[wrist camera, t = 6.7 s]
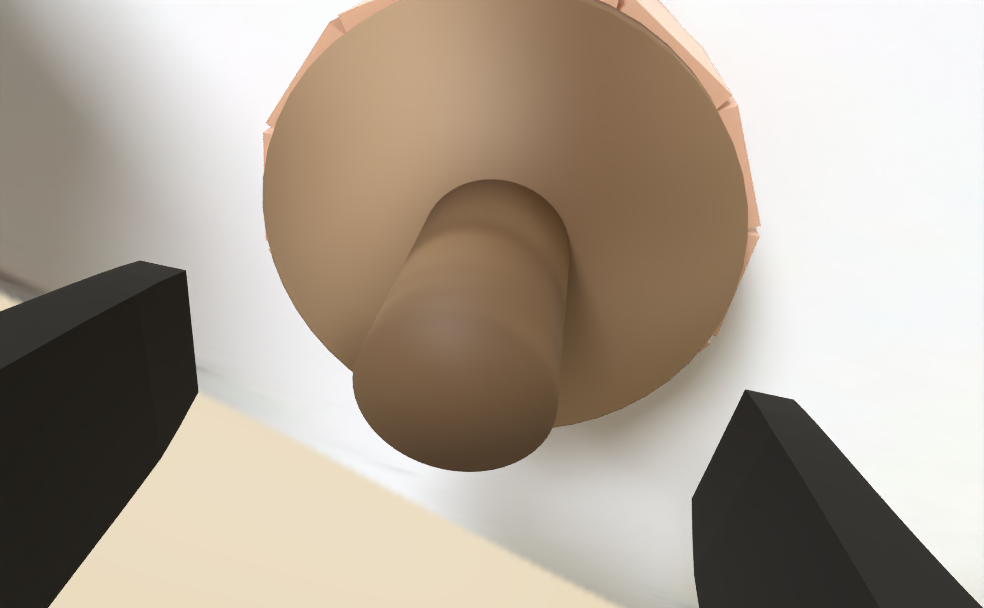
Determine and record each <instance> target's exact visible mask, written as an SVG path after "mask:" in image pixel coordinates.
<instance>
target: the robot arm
mask: <svg viewBox="0 0 984 608" xmlns="http://www.w3.org/2000/svg"><path fill="white" fill-rule="evenodd" d="M197 394H198V384H197V374H196V364H195V354H194V345H193V335H192V325H191V315H190V306H189V296H188V286H187V276H186V270H181V269H177V268H172V267H167V266H163V265H158V264H153V263H148V262H144V261H137V262H134V263H130V264H127V265H124V266H120V267H117V268H114V269H111V270H109V271H106V272H103V273H100V274H97V275H95V276H92V277H89V278H87V279H84V280H81V281H78V282H76V283H73V284H71V285H68V286H65V287H63V288H60V289H58V290H55V291H52V292H50V293H47V294H45V295H42V296H39V297H37V298H34V299H32V300H29V301H26V302H24V303H21V304H19V305H16V306H13V307H11V308H8V309H6V310H3V311H0V608H48V607H49V606H50V604H51V603H52V602H53V601H54V599H55V598H56V597H57V595H58V594H59V592H60V591H61V590H62V589H63V587H64V586H65V584H66V583H67V582H68V581H69V580H70V578H71V577H72V575H73V574H74V573H75V572H76V570H77V569H78V567H79V566H80V565H81V564H82V562H83V561H84V560H85V559H86V557H87V556H88V555H89V553H90V552H91V551H92V549H93V548H94V547H95V545H96V544H97V543H98V541H99V540H100V539H101V538H102V536H103V535H104V534H105V532H106V531H107V530H108V528H109V527H110V526H111V524H112V523H113V522H114V520H115V519H116V518H117V517H118V515H119V514H120V513H121V511H122V510H123V509H124V507H125V506H126V505H127V503H128V502H129V501H130V499H131V498H132V497H133V495H134V494H135V493H136V491H137V489H139V487H140V486H141V485H142V483H143V482H144V480H145V479H146V478H147V476H148V475H149V474H150V472H151V471H152V469H153V468H154V467H155V466H156V464H157V463H158V462H159V460H160V459H161V457H162V456H163V454H164V452H165V451H166V449H167V447H168V446H169V444H170V442H171V440H172V439H173V437H174V435H175V434H176V432H177V430H178V428H179V427H180V425H181V423H182V421H183V419H184V418H185V416H186V414H187V412H188V410H189V408H190V406H191V405H192V403H193V401H194V399H195V397H196V395H197ZM692 536H693V560H694V576H695V583H696V590H697V597H698V603H699V608H983V607H982V606H981V605H980V604H979V603H978V602H977V601H976V600H975V599H974V598H973V597H972V596H971V595H970V594H969V593H968V592H967V591H966V590H965V589H964V588H963V587H962V586H961V585H960V584H959V583H958V582H957V580H956V579H955V578H954V577H953V576H952V575H951V574H950V573H949V572H948V571H947V570H946V569H945V568H944V567H943V565H942V564H941V563H940V562H939V561H938V560H937V559H936V558H935V557H934V556H933V555H932V554H931V553H930V551H929V550H928V549H927V548H926V547H925V546H924V545H923V544H922V543H921V542H920V540H919V539H918V538H917V537H916V536H915V535H914V534H913V533H912V532H911V530H910V529H909V528H908V527H907V526H906V525H905V524H904V523H903V522H902V520H901V519H900V518H899V517H898V516H897V515H896V514H895V513H894V511H893V510H892V509H891V508H890V507H889V506H888V505H887V503H886V502H885V501H884V500H883V499H882V498H881V497H880V496H879V494H878V493H877V492H876V491H875V490H874V489H873V488H872V486H871V485H870V484H869V483H868V482H867V481H866V480H865V478H864V477H863V476H862V475H861V474H860V473H859V471H858V470H857V469H856V468H855V467H854V466H853V465H852V463H851V462H850V461H849V460H848V459H847V458H846V457H845V455H844V454H843V453H842V452H841V451H840V450H839V448H838V447H837V446H836V445H835V444H834V443H833V442H832V440H831V439H830V438H829V437H828V436H827V435H826V434H825V433H824V431H823V430H822V429H821V428H820V427H819V426H818V425H817V424H816V422H815V421H814V420H813V419H812V418H811V417H810V416H809V415H808V414H807V413H806V412H805V411H804V410H803V409H802V408H801V407H800V405H799V404H798V403H797V402H796V401H795V400H793V399H788V398H783V397H778V396H774V395H769V394H764V393H760V392H755V391H750V390H746V389H745V391H744V393H743V395H742V397H741V399H740V401H739V403H738V406H737V408H736V410H735V412H734V414H733V416H732V418H731V420H730V422H729V424H728V426H727V428H726V430H725V432H724V434H723V436H722V438H721V440H720V442H719V444H718V446H717V448H716V450H715V453H714V455H713V457H712V459H711V461H710V463H709V465H708V467H707V469H706V471H705V473H704V475H703V477H702V479H701V481H700V483H699V485H698V487H697V489H696V491H695V493H694V495H693V497H692Z"/></svg>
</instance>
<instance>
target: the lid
mask: <svg viewBox="0 0 984 608" xmlns="http://www.w3.org/2000/svg"><path fill="white" fill-rule="evenodd" d="M263 212H264V220H265V228H266V235H267V239H268V243H269V247H270V250H271V254H272V258H273V261H274V264H275V266H276V269H277V271H278V274H279V276H280V279H281V281H282V284H283V286H284V288H285V290H286V292H287V293H288V295H289V297H290V299H291V301H292V303H293V304H294V306H295V308H296V310H297V311H298V313H299V314H300V315H301V317H302V318H303V320H304V321H305V322H306V324H307V325H308V327H309V328H310V330H311V331H312V332H313V333H314V334H315V336H316V337H317V338H318V339H319V340H320V341H321V342H322V343H323V345H324V346H325V347H326V348H327V349H328V350H329V351H330V352H331V353H332V354H333V355H334V356H335V357H336V358H337V359H339V360H340V361H341V362H342V363H343V364H344V365H345V366H346V367H347V368H348V369H350V370H351V371H352V372H353V389H354V394H355V399H356V401H357V404H358V407H359V409H360V411H361V413H362V414H363V416H364V418H365V420H366V421H367V422H368V424H369V425H370V426H371V428H372V429H373V430H374V431H375V432H376V433H377V434H378V435H379V436H380V437H381V438H382V439H383V440H384V441H385V442H386V443H388V444H389V445H390V446H392V447H393V448H394V449H396V450H397V451H399V452H401V453H402V454H404V455H406V456H408V457H410V458H412V459H414V460H416V461H418V462H421V463H424V464H427V465H429V466H433V467H437V468H441V469H445V470H452V471H462V472H478V471H487V470H494V469H498V468H502V467H505V466H508V465H510V464H513V463H515V462H517V461H519V460H521V459H523V458H525V457H526V456H528V455H529V454H531V453H532V452H534V451H535V450H536V449H537V448H538V447H539V446H540V445H541V444H542V443H543V442H544V440H545V439H546V438H547V436H548V435H549V433H550V431H551V429H552V428H553V427H559V426H565V425H572V424H576V423H580V422H583V421H587V420H591V419H595V418H598V417H601V416H604V415H606V414H609V413H611V412H614V411H617V410H619V409H622V408H624V407H626V406H628V405H630V404H632V403H634V402H635V401H637V400H639V399H641V398H643V397H645V396H647V395H648V394H650V393H651V392H653V391H654V390H656V389H657V388H659V387H660V386H662V385H663V384H665V383H666V382H667V381H669V380H670V379H671V378H672V377H673V376H675V375H676V374H677V373H678V372H679V371H680V370H681V369H683V368H684V367H685V366H686V365H687V364H688V363H689V362H690V361H691V360H692V359H693V358H694V356H695V355H696V354H697V353H698V352H699V351H700V350H701V349H702V347H703V346H704V345H705V344H706V343H707V341H708V340H709V338H710V337H711V335H712V334H713V333H714V331H715V330H716V328H717V327H718V325H719V324H720V322H721V321H722V319H723V317H724V315H725V313H726V311H727V308H728V306H729V304H730V302H731V300H732V298H733V296H734V294H735V291H736V288H737V284H738V281H739V278H740V275H741V272H742V268H743V264H744V258H745V251H746V245H747V239H748V204H747V197H746V190H745V184H744V177H743V173H742V169H741V166H740V163H739V160H738V156H737V153H736V150H735V147H734V144H733V141H732V139H731V137H730V135H729V133H728V131H727V129H726V127H725V125H724V123H723V121H722V119H721V117H720V115H719V113H718V111H717V109H716V107H715V105H714V103H713V101H712V99H711V97H710V96H709V94H708V93H707V91H706V90H705V88H704V87H703V85H702V84H701V83H700V81H699V80H698V78H697V77H696V75H695V74H694V72H693V71H692V70H691V69H690V68H689V66H688V65H687V64H686V63H685V62H684V61H683V60H682V59H681V58H680V57H679V56H678V55H677V54H676V52H675V51H674V50H673V49H672V48H671V47H670V46H669V45H668V44H667V43H665V42H664V41H663V40H662V39H660V38H659V37H658V36H657V35H655V34H654V33H653V32H652V31H650V30H649V29H648V28H647V27H645V26H644V25H643V24H642V23H640V22H639V21H637V20H635V19H633V18H632V17H630V16H628V15H627V14H625V13H623V12H621V11H620V10H618V9H616V8H615V7H613V6H611V5H609V4H607V3H605V2H602V1H600V0H399V1H397V2H396V3H394V4H392V5H390V6H388V7H386V8H384V9H383V10H381V11H379V12H377V13H375V14H373V15H372V16H370V17H368V18H367V19H365V20H363V21H362V22H360V23H358V24H357V25H356V26H354V27H353V28H352V29H350V30H349V31H348V32H346V33H345V34H344V35H342V36H341V37H340V38H338V39H337V40H336V41H335V42H333V43H332V44H331V45H330V46H329V47H328V48H327V49H326V50H325V51H324V52H323V53H322V54H321V55H320V56H319V57H318V58H317V59H316V60H315V61H314V62H313V63H312V64H311V65H310V66H309V67H308V69H307V70H306V72H305V73H304V74H303V76H302V77H301V79H300V80H299V82H298V83H297V84H296V86H295V87H294V89H293V90H292V92H291V93H290V95H289V97H288V99H287V101H286V103H285V105H284V107H283V109H282V111H281V113H280V115H279V117H278V119H277V121H276V125H275V128H274V131H273V134H272V137H271V140H270V143H269V147H268V150H267V157H266V163H265V169H264V176H263Z"/></svg>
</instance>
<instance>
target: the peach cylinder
mask: <svg viewBox="0 0 984 608" xmlns="http://www.w3.org/2000/svg"><path fill="white" fill-rule="evenodd" d="M397 1H399V0H365V1H364V2H362V3H360V4H358V5H356V6H354V7H352V8H350V9H348V10H346V11H344V12H342V13H341V14H339V17H338V18H336V19H335V20H333V21H331V22H329V24H328V25H327V27H326V28H325V30H324V32H323V33H322V35H321V36H320V38H319V39H318V41H317V43H316V44H315V46H314V47H313V49H312V51H311V52H310V54H309V55H308V57H307V58H306V60H305V62H304V63H303V65H302V66H301V68H300V70H299V71H298V73H297V74H296V76H295V77H294V79H293V81H292V82H291V84H290V85H289V87H288V89H287V90H286V92H285V93H284V95H283V96H282V98H281V100H280V101H279V103H278V104H277V106H276V108H275V109H274V111H273V112H272V114H271V115H270V117H269V119H268V120H267V122H266V123H267V124H268V125H269V126H271V127H270V128H269V129H268V130H266V131H265V132H264V133H263V143H264V169H265V163H266V157H267V150H268V147H269V143H270V140H271V137H272V134H273V131H274V128H275V125H276V121H277V119H278V117H279V115H280V113H281V111H282V109H283V107H284V105H285V103H286V101H287V99H288V97H289V95H290V93H291V92H292V90H293V89H294V87H295V86H296V84H297V83H298V82H299V80H300V79H301V77H302V76H303V74H304V73H305V72H306V70H307V69H308V67H309V66H310V65H311V64H312V63H313V62H314V61H315V60H316V59H317V58H318V57H319V56H320V55H321V54H322V53H323V52H324V51H325V50H326V49H327V48H328V47H329V46H330V45H331V44H332V43H333V42H335V41H336V40H337V39H338V38H340V37H341V36H342V35H344V34H345V33H346V32H348V31H349V30H350V29H352V28H353V27H354V26H356V25H357V24H358V23H360V22H362V21H363V20H365V19H367V18H368V17H370V16H372V15H373V14H375V13H377V12H379V11H381V10H383V9H384V8H386V7H388V6H390V5H392V4H394V3H396V2H397ZM600 1H602V2H605V3H607V4H609V5H611V6H613V7H615V8H616V9H618V10H620V11H621V12H623V13H625V14H627V15H628V16H630V17H632V18H633V19H635V20H637V21H639V22H640V23H642V24H643V25H644V26H645V27H647V28H648V29H649V30H650V31H652V32H653V33H654V34H655V35H657V36H658V37H659V38H660V39H662V40H663V41H664V42H665V43H667V44H668V45H669V46H670V47H671V48H672V49H673V50H674V51H675V52H676V54H677V55H678V56H679V57H680V58H681V59H682V60H683V61H684V62H685V63H686V64H687V65H688V66H689V68H690V69H691V70H692V71H693V72H694V74H695V75H696V77H697V78H698V80H699V81H700V83H701V84H702V85H703V87H704V88H705V90H706V91H707V93H708V94H709V96H710V97H711V99H712V101H713V103H714V105H715V107H716V109H717V111H718V113H719V115H720V117H721V119H722V121H723V123H724V125H725V127H726V129H727V131H728V133H729V135H730V137H731V139H732V141H733V144H734V147H735V150H736V153H737V156H738V160H739V163H740V166H741V169H742V173H743V177H744V184H745V190H746V197H747V204H748V239H747V245H746V251H745V258H744V264H743V268H742V272H741V275H740V278H739V281H738V284H737V287H738V285H739V282H740V280H741V278H742V276H743V273H744V271H745V269H746V266H747V264H748V262H749V259H750V257H751V255H752V252H753V250H754V248H755V245H756V243H757V241H758V239H759V235H758V232H757V230H756V228H755V227H758V226H761V225H760V220H759V215H758V209H757V204H756V199H755V193H754V188H753V183H752V178H751V172H750V167H749V162H748V157H747V151H746V146H745V141H744V135H743V130H742V125H741V120H740V114H739V109H738V105H737V103H736V102H735V100H734V99H733V97H732V94H731V92H730V91H729V89H728V87H727V86H726V84H725V82H724V81H723V79H722V78H721V76H720V74H719V73H718V71H717V69H716V68H715V66H714V64H713V63H712V61H711V60H710V58H709V56H708V55H707V53H706V51H705V50H704V48H703V47H702V46H701V45H700V44H699V43H698V42H697V41H696V40H695V39H694V38H693V37H692V36H691V35H690V34H689V33H688V32H687V31H686V30H685V29H684V28H683V27H682V26H681V25H680V23H679V22H678V21H677V20H676V19H675V18H674V16H673V15H672V14H671V13H670V12H669V11H668V9H667V8H666V7H665V6H664V5H663V4H662V3H661V2H660V1H659V0H600ZM266 240H267V241H268V239H267V235H266ZM269 251H270V252H271V250H270V249H269ZM736 289H737V288H736ZM735 292H736V291H735ZM732 299H733V298H732ZM731 301H732V300H731ZM730 303H731V302H730ZM729 306H730V304H729ZM729 306H728V308H729ZM728 308H727V310H728ZM726 313H727V311H726ZM726 313H725V315H726ZM725 315H724V317H725ZM724 317H723V319H724ZM723 319H722V321H721V322H720V324H719V325H718V327H717V328H716V330H715V331H714V333H713V334H712V335H714V336H717V333H718V331H719V329H720V326H721V324H722V322H723ZM709 344H710V341H709V340H708V341H707V343H706V344H705V345H704V346H703V347H702V349H703V348H705V347H706V346H708V345H709ZM702 349H701V350H702ZM701 350H700V351H701Z"/></svg>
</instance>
